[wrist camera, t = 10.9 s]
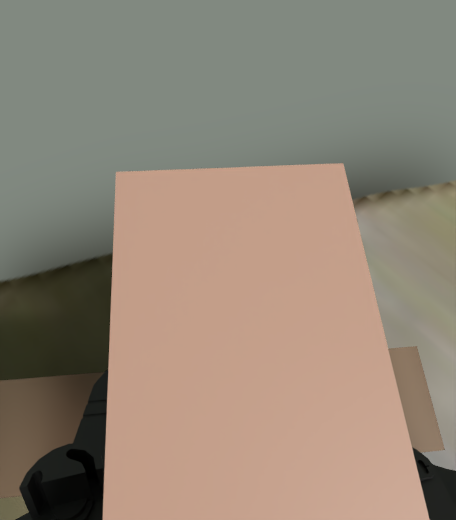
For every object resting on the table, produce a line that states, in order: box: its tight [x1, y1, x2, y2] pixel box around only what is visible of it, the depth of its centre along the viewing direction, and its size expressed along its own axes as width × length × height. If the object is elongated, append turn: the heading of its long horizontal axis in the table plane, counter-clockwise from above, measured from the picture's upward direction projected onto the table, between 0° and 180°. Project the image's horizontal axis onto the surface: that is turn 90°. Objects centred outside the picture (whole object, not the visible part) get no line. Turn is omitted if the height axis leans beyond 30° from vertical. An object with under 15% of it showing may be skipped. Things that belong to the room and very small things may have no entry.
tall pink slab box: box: [103, 163, 430, 520], centre depth 10 cm, size 3×8×14 cm, turn 5°
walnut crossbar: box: [0, 346, 445, 498], centre depth 19 cm, size 22×5×5 cm, turn 95°
